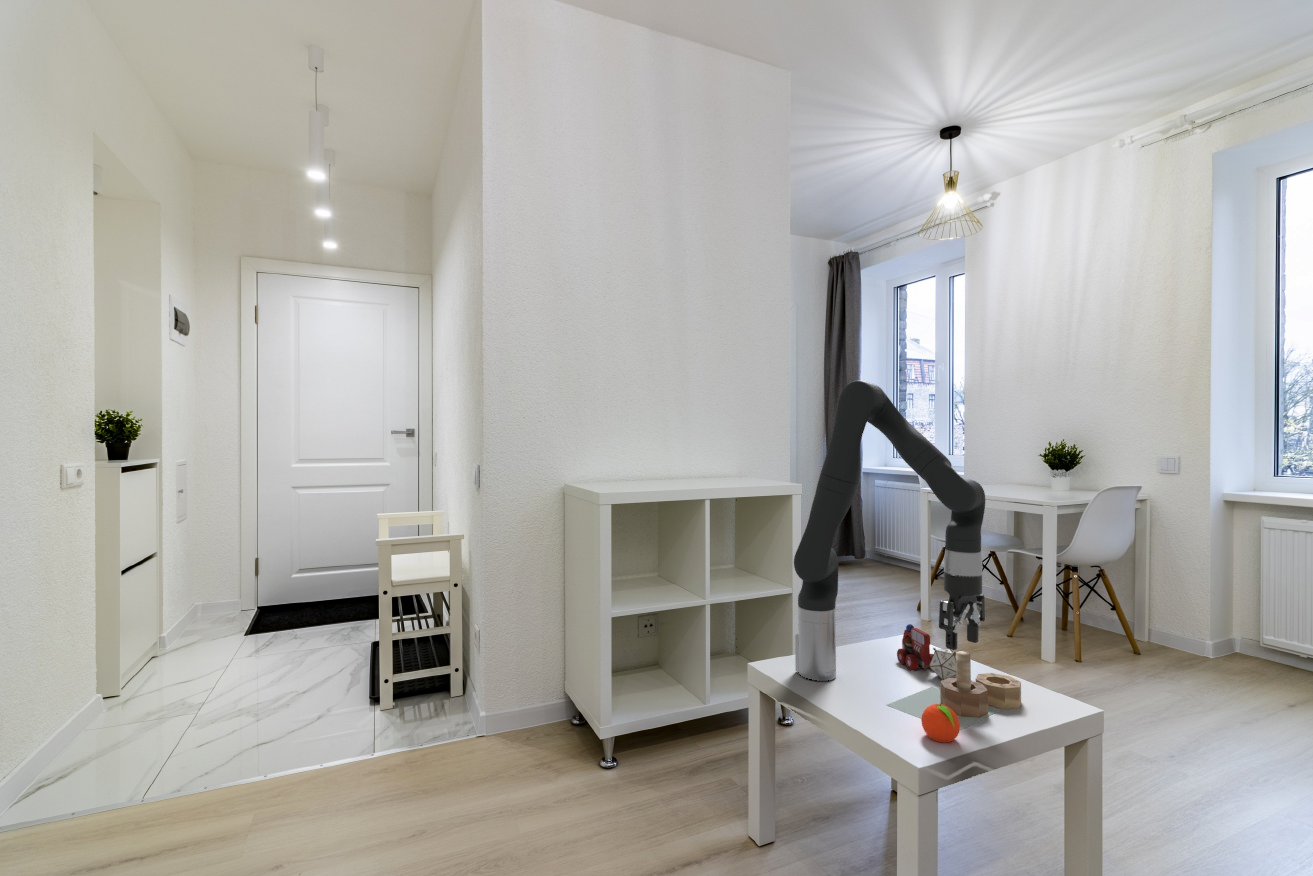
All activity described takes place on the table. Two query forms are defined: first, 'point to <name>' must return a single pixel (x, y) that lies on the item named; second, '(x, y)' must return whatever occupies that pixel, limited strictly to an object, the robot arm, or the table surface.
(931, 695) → the grey mat
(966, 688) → the birch peg
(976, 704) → the walnut bead
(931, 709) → the clementine
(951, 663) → the game die
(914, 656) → the red toy car
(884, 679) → the table surface
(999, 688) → the oak bead
